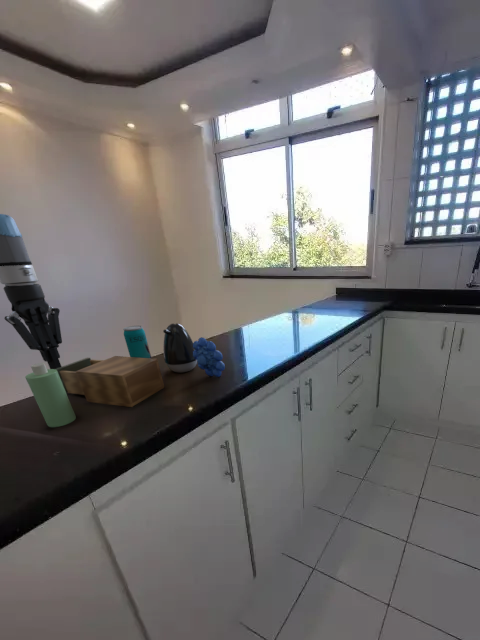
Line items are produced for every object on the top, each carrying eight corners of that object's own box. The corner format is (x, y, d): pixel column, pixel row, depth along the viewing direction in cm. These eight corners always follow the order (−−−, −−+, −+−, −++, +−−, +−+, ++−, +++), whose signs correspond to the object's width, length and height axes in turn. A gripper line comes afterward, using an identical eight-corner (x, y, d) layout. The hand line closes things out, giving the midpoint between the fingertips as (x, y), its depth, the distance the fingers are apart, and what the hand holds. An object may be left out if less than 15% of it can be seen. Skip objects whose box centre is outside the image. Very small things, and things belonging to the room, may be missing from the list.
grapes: (187, 378, 95) (179, 339, 89) (203, 370, 100) (196, 334, 95) (215, 384, 89) (208, 343, 84) (231, 376, 95) (225, 337, 89)
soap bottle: (41, 425, 71) (14, 368, 65) (64, 414, 76) (41, 359, 70) (59, 428, 70) (33, 370, 63) (81, 416, 74) (59, 361, 68)
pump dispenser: (160, 374, 98) (148, 326, 91) (179, 363, 107) (169, 319, 100) (188, 376, 96) (178, 327, 89) (205, 365, 105) (197, 319, 98)
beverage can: (156, 375, 98) (144, 327, 91) (136, 379, 95) (122, 330, 89) (154, 369, 102) (142, 324, 96) (135, 373, 100) (121, 327, 93)
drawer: (47, 392, 86) (37, 369, 83) (84, 377, 96) (76, 356, 93) (97, 398, 81) (88, 374, 78) (130, 382, 91) (123, 360, 88)
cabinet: (87, 401, 82) (75, 371, 78) (123, 383, 93) (115, 355, 89) (131, 407, 78) (121, 375, 74) (164, 387, 89) (157, 358, 85)
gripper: (3, 287, 72) (44, 380, 83) (56, 281, 84) (86, 363, 94) (-19, 287, 74) (24, 378, 85) (36, 281, 86) (68, 362, 96)
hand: (57, 370), depth 89 cm, fingers closed
